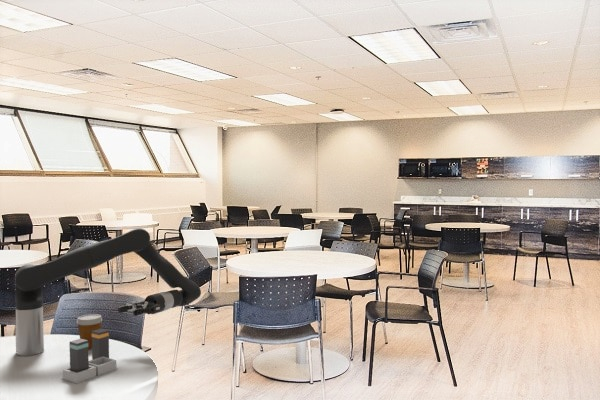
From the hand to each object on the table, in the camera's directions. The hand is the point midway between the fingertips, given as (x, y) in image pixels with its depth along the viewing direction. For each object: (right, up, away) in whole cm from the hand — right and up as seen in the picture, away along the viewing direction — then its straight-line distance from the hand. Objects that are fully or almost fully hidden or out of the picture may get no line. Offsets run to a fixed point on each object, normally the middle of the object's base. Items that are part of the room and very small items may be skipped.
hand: (126, 311), depth 198 cm
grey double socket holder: (-5, -17, -22) cm, 28 cm away
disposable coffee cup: (-18, -16, +10) cm, 26 cm away
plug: (-6, -17, -9) cm, 20 cm away
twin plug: (-7, -16, -25) cm, 31 cm away
